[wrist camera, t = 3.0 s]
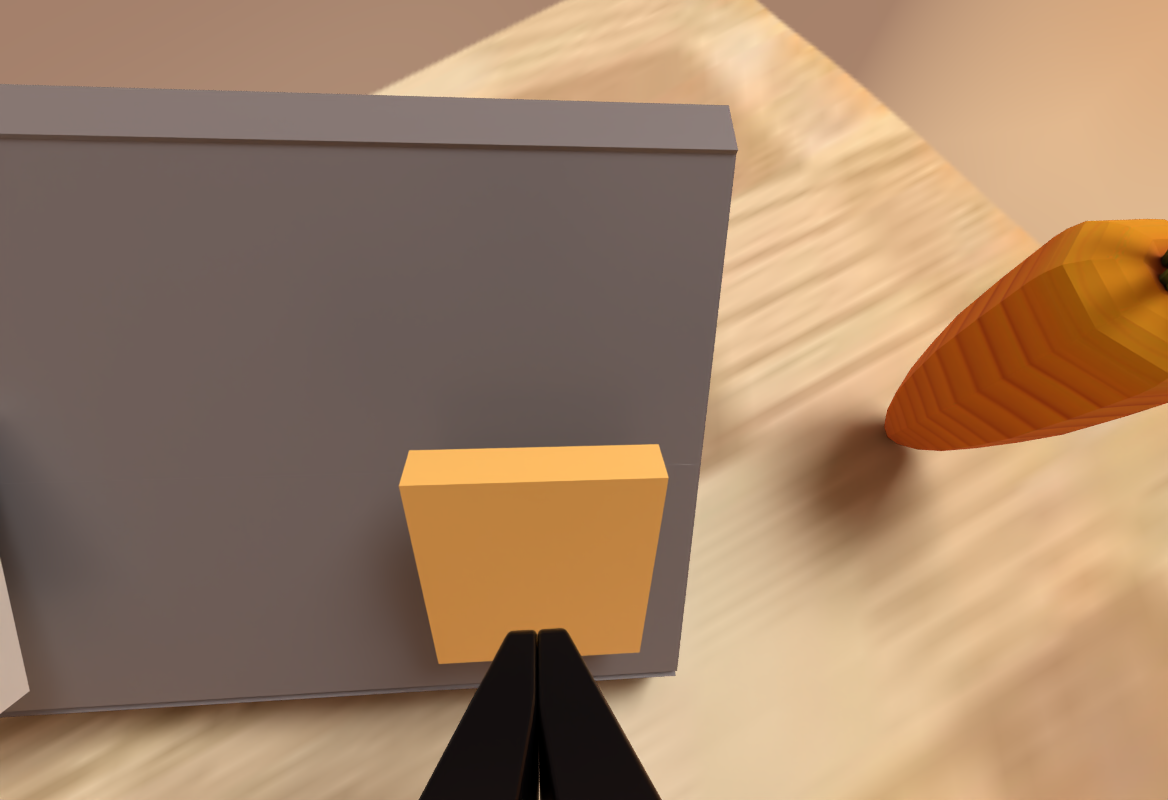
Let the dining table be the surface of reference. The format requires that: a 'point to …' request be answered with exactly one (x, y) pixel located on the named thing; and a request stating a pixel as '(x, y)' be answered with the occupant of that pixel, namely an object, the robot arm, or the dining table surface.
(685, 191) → the switch console
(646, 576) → the block
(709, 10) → the dining table surface
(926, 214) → the dining table surface
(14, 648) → the block
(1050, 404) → the carrot
